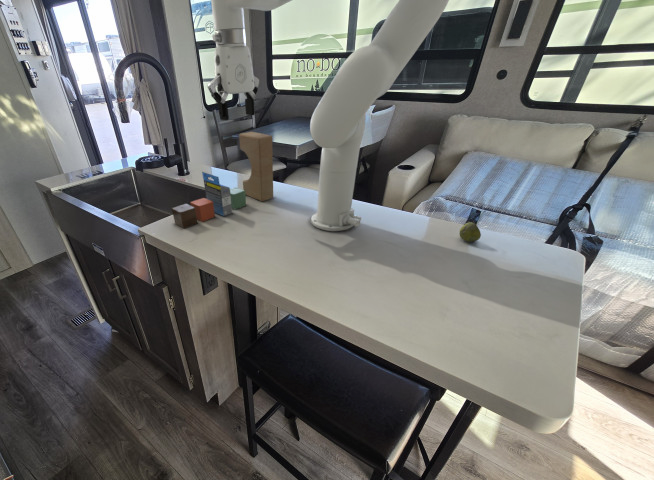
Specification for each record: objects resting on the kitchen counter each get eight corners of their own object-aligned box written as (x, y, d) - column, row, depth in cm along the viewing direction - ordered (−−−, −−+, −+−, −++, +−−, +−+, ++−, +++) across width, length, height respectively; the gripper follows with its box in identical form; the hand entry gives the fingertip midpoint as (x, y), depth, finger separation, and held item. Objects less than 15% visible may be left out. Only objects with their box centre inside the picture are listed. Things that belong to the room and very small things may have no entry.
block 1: (197, 223, 95) (194, 207, 92) (183, 228, 92) (180, 212, 89) (189, 218, 98) (186, 203, 95) (175, 223, 95) (171, 208, 92)
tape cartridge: (233, 213, 100) (229, 173, 92) (223, 217, 98) (218, 177, 90) (216, 206, 105) (211, 168, 98) (207, 209, 103) (201, 171, 96)
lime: (458, 235, 82) (465, 217, 79) (479, 240, 80) (487, 222, 77) (454, 241, 80) (461, 223, 77) (475, 247, 77) (483, 228, 74)
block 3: (246, 205, 105) (245, 190, 102) (234, 209, 102) (233, 194, 99) (237, 201, 108) (235, 187, 105) (225, 205, 105) (224, 191, 102)
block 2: (215, 216, 98) (212, 201, 95) (201, 221, 96) (199, 206, 93) (206, 212, 101) (203, 197, 98) (193, 217, 99) (190, 202, 96)
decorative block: (242, 194, 114) (238, 133, 102) (255, 190, 116) (252, 131, 104) (261, 202, 107) (258, 138, 95) (274, 198, 109) (273, 135, 97)
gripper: (211, 39, 71) (222, 122, 82) (265, 38, 81) (268, 113, 91) (193, 42, 76) (205, 121, 86) (246, 41, 85) (251, 112, 95)
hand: (237, 117), depth 88 cm, fingers open, 9 cm apart
